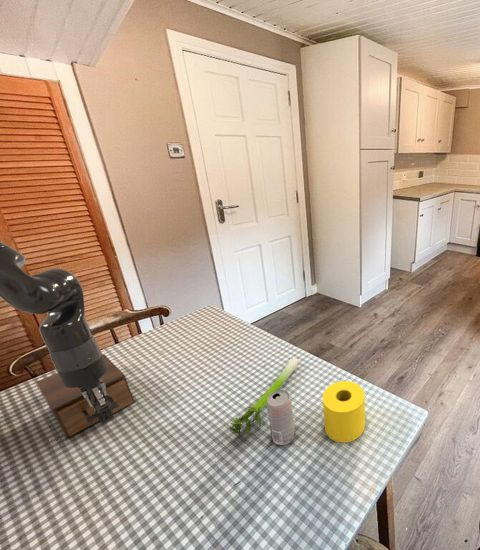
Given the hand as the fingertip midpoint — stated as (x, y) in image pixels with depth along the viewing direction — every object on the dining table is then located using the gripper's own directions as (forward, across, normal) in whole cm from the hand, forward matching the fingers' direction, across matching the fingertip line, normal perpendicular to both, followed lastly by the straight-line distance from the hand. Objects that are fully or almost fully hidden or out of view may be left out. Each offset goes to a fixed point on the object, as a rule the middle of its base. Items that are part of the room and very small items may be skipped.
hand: (107, 419), depth 72 cm
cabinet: (+4, -15, 0) cm, 16 cm away
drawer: (+3, -11, 0) cm, 12 cm away
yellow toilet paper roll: (+6, +44, +35) cm, 57 cm away
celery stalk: (+6, +22, +30) cm, 37 cm away
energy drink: (+6, +34, +24) cm, 42 cm away
